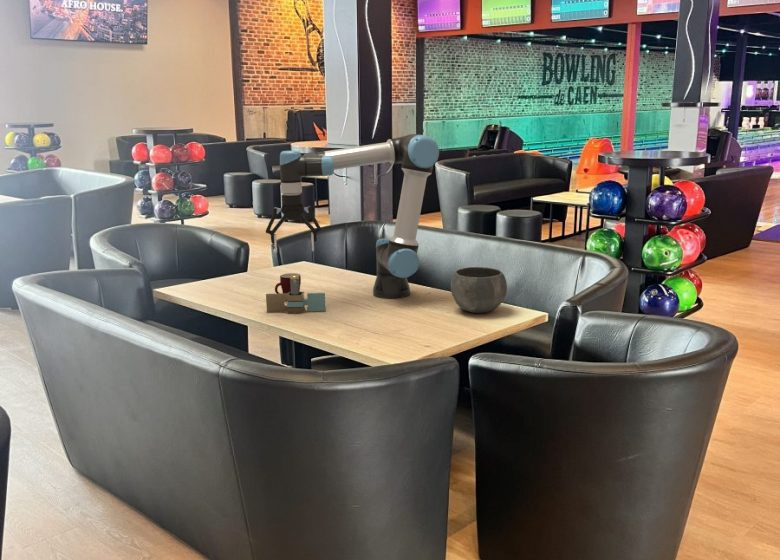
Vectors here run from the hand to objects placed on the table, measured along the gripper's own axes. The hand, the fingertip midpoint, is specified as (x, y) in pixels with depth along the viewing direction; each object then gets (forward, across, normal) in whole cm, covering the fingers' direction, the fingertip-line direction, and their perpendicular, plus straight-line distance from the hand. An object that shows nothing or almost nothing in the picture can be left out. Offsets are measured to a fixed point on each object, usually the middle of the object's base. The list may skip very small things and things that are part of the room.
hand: (294, 251), depth 286 cm
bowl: (+23, -67, +13) cm, 72 cm away
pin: (+23, 0, 0) cm, 23 cm away
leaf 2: (+23, -4, +1) cm, 23 cm away
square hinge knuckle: (+23, +4, 0) cm, 23 cm away
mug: (+23, +3, -17) cm, 29 cm away
